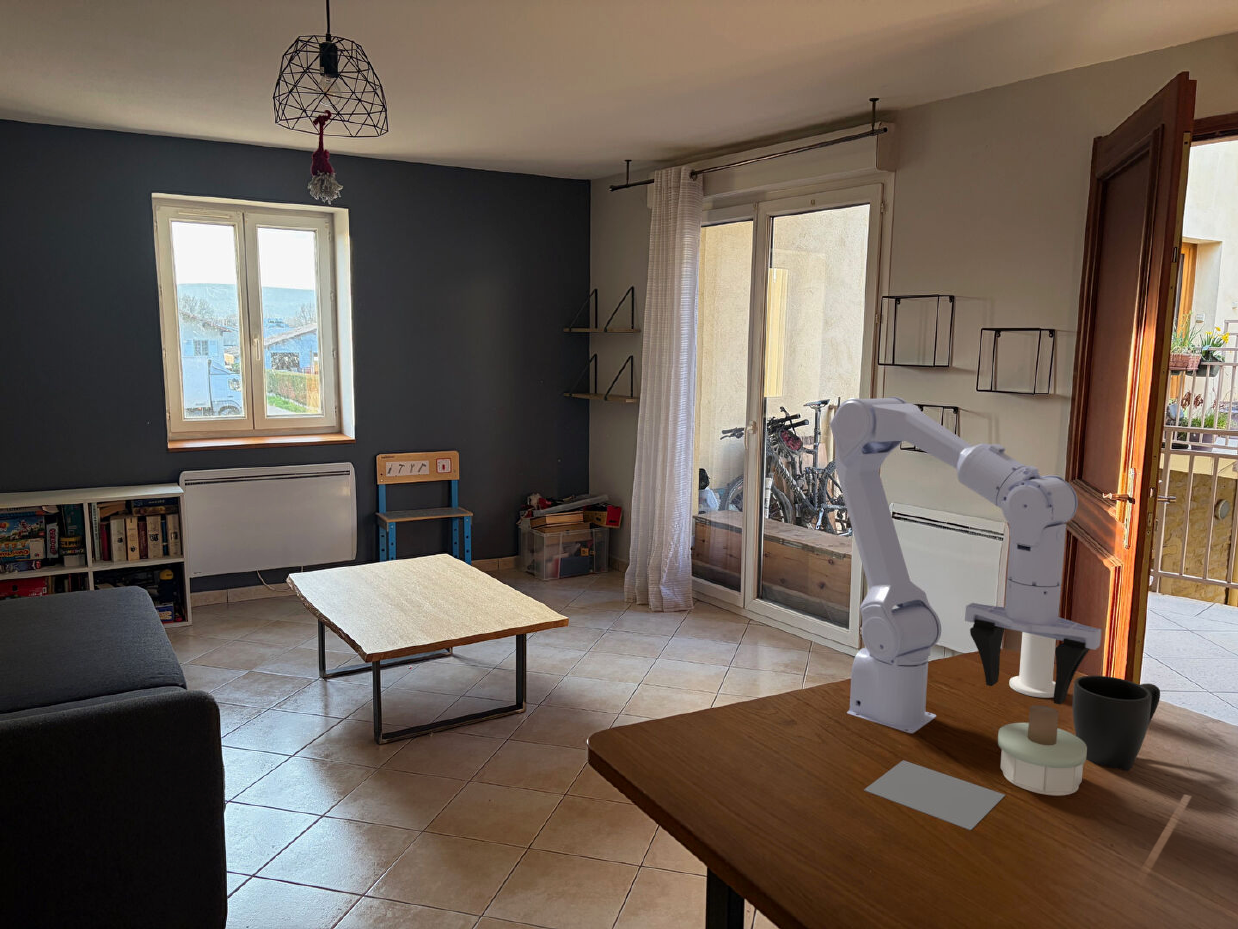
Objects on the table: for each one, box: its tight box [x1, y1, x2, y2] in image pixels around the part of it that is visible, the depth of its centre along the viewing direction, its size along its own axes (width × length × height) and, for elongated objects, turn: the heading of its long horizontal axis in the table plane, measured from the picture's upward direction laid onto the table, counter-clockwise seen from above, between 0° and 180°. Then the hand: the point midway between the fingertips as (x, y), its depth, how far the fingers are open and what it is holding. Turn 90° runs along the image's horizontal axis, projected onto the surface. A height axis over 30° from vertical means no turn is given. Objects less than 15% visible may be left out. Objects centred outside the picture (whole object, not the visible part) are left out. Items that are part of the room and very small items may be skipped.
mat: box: [863, 759, 1006, 831], centre depth 98 cm, size 12×10×1 cm
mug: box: [1072, 675, 1161, 772], centre depth 107 cm, size 8×12×10 cm
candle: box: [1008, 632, 1057, 699], centre depth 129 cm, size 7×7×25 cm
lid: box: [997, 704, 1087, 768], centre depth 100 cm, size 9×9×5 cm
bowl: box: [1000, 749, 1084, 796], centre depth 101 cm, size 8×8×4 cm
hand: (1024, 692), depth 103 cm, fingers open, 7 cm apart
